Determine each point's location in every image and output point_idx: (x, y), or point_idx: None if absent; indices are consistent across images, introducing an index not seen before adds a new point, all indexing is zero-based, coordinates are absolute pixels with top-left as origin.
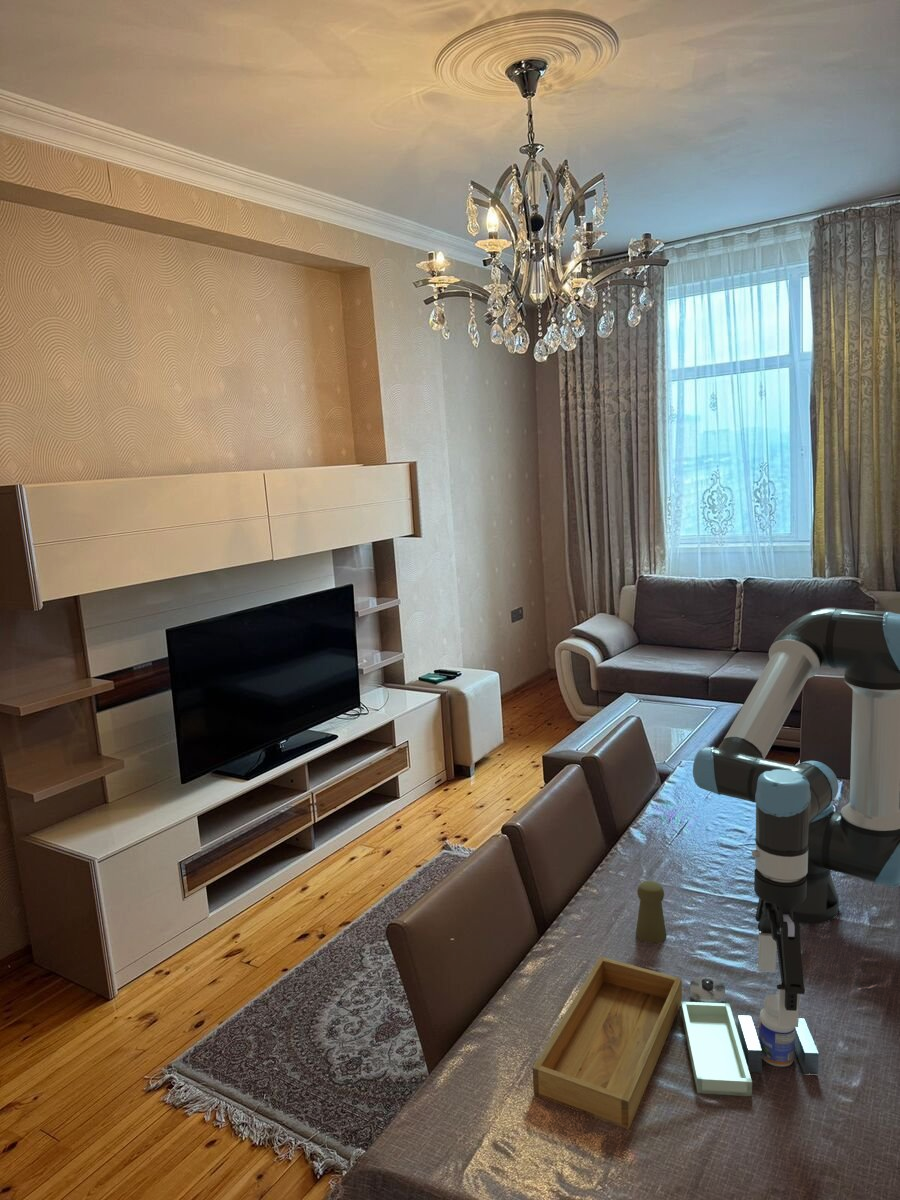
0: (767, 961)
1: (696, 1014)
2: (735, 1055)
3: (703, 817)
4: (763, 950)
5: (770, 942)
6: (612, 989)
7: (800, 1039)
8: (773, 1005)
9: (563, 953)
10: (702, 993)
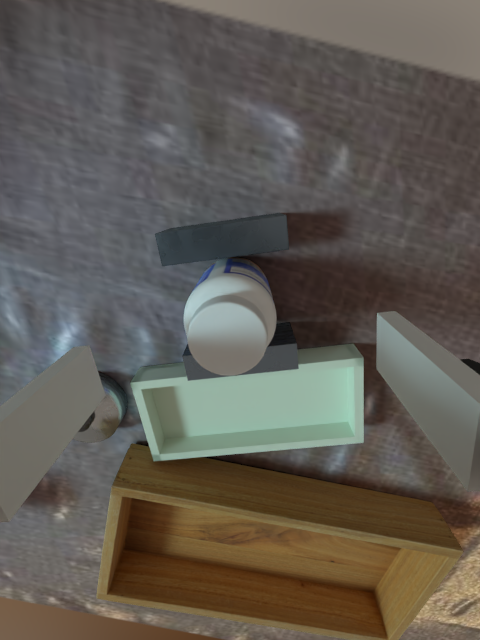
0: (77, 394)
1: (160, 423)
2: None
3: None
4: (55, 439)
5: (15, 445)
6: (139, 537)
7: (241, 254)
8: (248, 356)
9: (64, 586)
10: (108, 423)
